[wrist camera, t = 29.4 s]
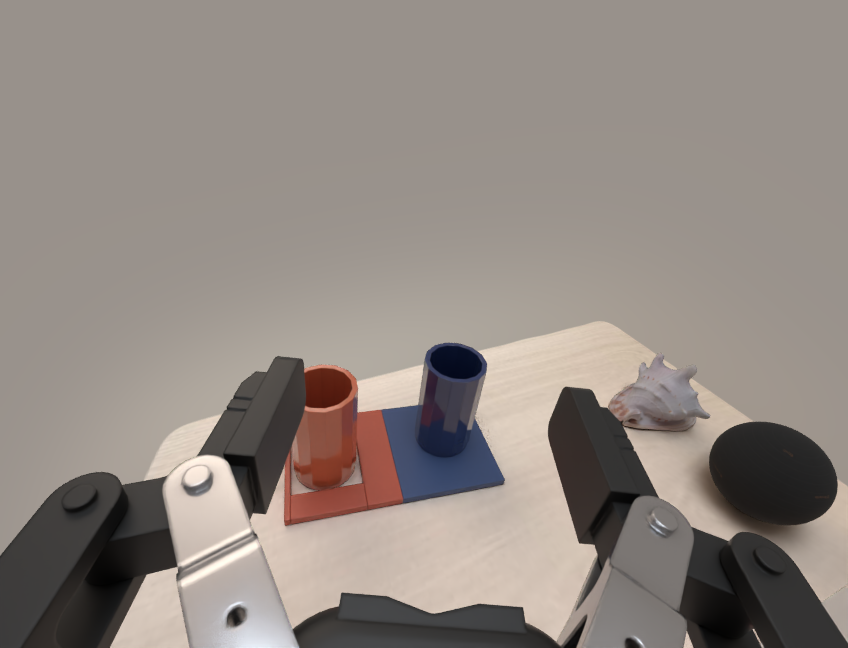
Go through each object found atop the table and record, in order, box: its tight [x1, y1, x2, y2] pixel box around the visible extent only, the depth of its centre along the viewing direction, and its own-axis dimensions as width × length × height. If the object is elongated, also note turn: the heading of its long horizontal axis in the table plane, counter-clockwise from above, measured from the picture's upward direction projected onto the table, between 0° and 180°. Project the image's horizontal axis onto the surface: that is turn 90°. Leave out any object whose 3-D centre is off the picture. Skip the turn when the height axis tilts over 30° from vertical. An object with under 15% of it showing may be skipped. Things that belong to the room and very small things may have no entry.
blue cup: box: [415, 343, 487, 457], centre depth 43 cm, size 6×6×11 cm
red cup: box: [292, 365, 358, 490], centre depth 39 cm, size 6×6×11 cm
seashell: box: [609, 353, 710, 431], centre depth 52 cm, size 10×12×9 cm
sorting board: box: [284, 405, 505, 525], centre depth 44 cm, size 22×12×1 cm, turn 105°
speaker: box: [709, 422, 838, 525], centre depth 42 cm, size 10×10×10 cm
